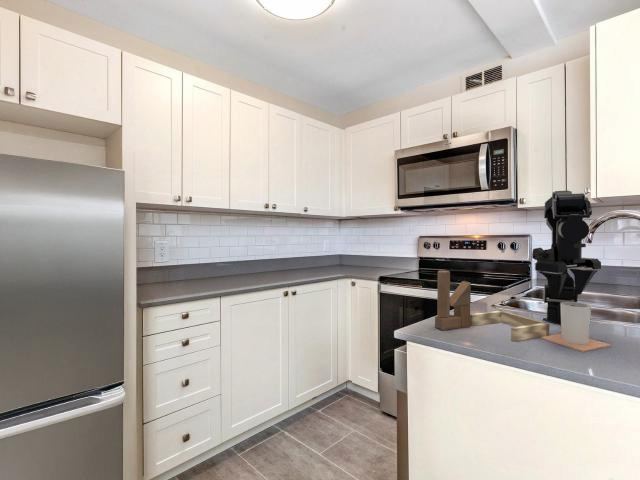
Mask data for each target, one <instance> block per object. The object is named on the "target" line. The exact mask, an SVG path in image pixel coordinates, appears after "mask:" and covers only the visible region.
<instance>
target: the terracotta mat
mask: <svg viewBox="0 0 640 480" xmlns="http://www.w3.org/2000/svg"><path fill="white" fill-rule="evenodd" d="M540 339H542V340H545V341H547V342H551V343H554V344H557V345H560V346H563V347H566V348H569V349H572V350H575V351H578V352H582V353H584V352H589V351H595V350H599V349H604V348H609V347H612V344H609V343H606V342H603V341H599V340H596V339H592V338H589V339H588V344H573V343H569V342H566V341H564V340H562V334H561V333H556V334H552V335H551V334H549V336H544V337H540Z"/></svg>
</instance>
